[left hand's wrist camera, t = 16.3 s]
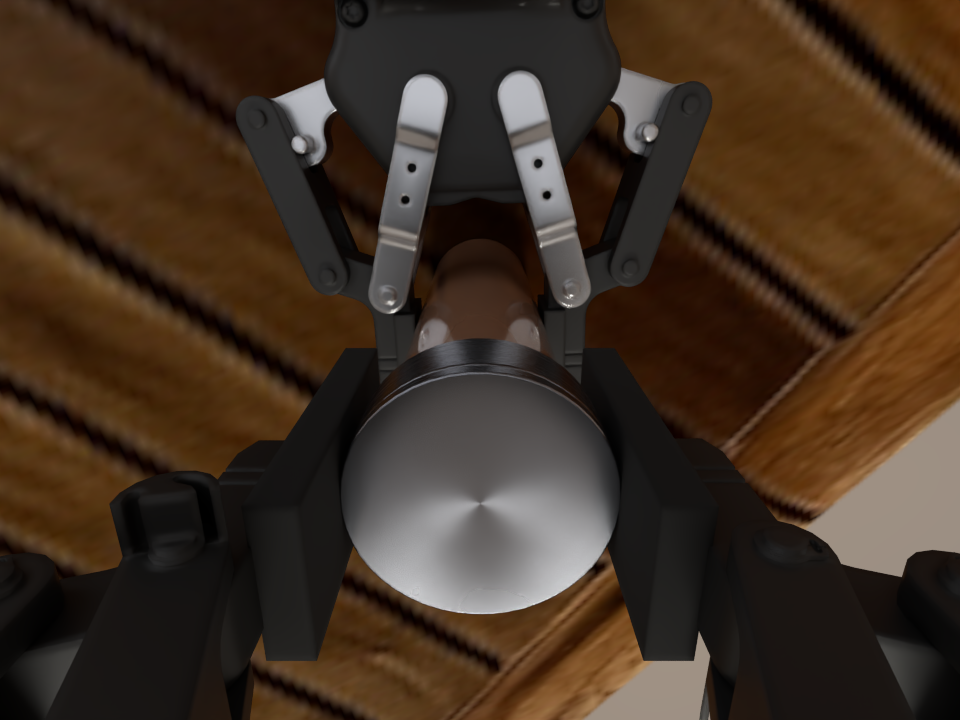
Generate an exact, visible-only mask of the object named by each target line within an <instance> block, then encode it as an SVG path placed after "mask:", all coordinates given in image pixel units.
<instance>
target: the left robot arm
mask: <svg viewBox="0 0 960 720" xmlns="http://www.w3.org/2000/svg"><path fill="white" fill-rule="evenodd" d="M379 386H380V381H379V365H378V349H377V348H346V349H345V350H344V352H343V353H342V355H341V356H340V358H339V359H338V361H337V362H336V364H335V365H334V367H333V368H332V370H331V372H330V373H329V375H328V376H327V378H326V379H325V381H324V382H323V384H322V385H321V387H320V388H319V390H318V391H317V393H316V394H315V396H314V397H313V399H312V400H311V402H310V403H309V405H308V406H307V408H306V409H305V411H304V412H303V414H302V415H301V417H300V418H299V420H298V421H297V423H296V424H295V426H294V427H293V429H292V430H291V432H290V433H289V435H288V436H287V438H286V439H285V441H257V442H256V443H254V444H253V445H251V446H249V447H248V448H246V449H245V450H243V451H241V452H240V453H238V454H237V456H236V457H235V458H234V459H233V461H232V462H231V463H230V464H229V466H228V467H227V468H226V472H223V473H222V475H221V476H220V477H219V478H218V480H217V479H216V478H215V477H213V476H212V475H211V474H208V473H204V472H199V471H176V472H171V473H166V474H161V475H156V476H154V477H151V478H148V479H145V480H143V481H140V482H137V483H135V484H134V485H132V486H130V487H129V488H127V489H125V490H124V491H122V492H120V493H119V494H118V495H117V496H116V497H115V499H114V500H113V501H112V502H111V503H110V508H111V512H112V516H113V520H114V524H115V528H116V532H117V536H118V540H119V543H120V547H121V551H122V555H123V558H122V560H121V562H120V564H119V566H118V567H116V568H113V569H109V570H105V571H100V572H95V573H90V574H85V575H80V576H75V577H70V578H66V579H61V580H59V577H58V574H57V570H56V567H55V564H54V562H53V561H52V560H51V559H50V558H48V557H47V556H46V555H42V554H35V553H21V554H13V555H5V556H1V557H0V720H250V713H251V705H252V697H253V689H254V680H253V672H252V666H251V661H250V658H251V656H252V654H253V651H254V649H255V647H256V645H257V642H258V640H259V638H260V636H261V633H262V636H263V643H264V649H265V655H266V661H317V658H318V655H319V652H320V649H321V646H322V643H323V639H324V636H325V633H326V630H327V627H328V624H329V620H330V617H331V614H332V611H333V608H334V605H335V602H336V598H337V595H338V592H339V589H340V586H341V583H342V579H343V576H344V573H345V570H346V567H347V564H348V561H349V557H350V554H351V551H352V548H353V544H352V542H351V540H350V538H349V536H348V533H347V531H346V528H345V526H344V522H343V518H342V514H341V505H340V493H339V486H340V476H341V471H342V466H343V462H344V460H345V457H346V454H347V451H348V449H349V446H350V444H351V442H352V440H353V437H354V435H355V432H356V430H357V428H358V426H359V423H360V421H361V419H362V416H363V414H364V412H365V409H366V407H367V405H368V403H369V401H370V400H371V398H372V396H373V394H374V392H375V391H376V390H377V388H378V387H379ZM581 386H582V387H583V388H584V390H585V391H586V393H587V395H588V396H589V398H590V400H591V402H592V403H593V405H594V408H595V410H596V412H597V414H598V417H599V419H600V421H601V424H602V426H603V428H604V430H605V433H606V435H607V438H608V440H609V442H610V444H611V446H612V449H613V452H614V454H615V457H616V459H617V462H618V467H619V471H620V476H621V498H620V509H619V517H618V522H617V526H616V528H615V531H614V533H613V535H612V538H611V540H610V542H609V544H608V546H607V547H608V550H609V553H610V556H611V559H612V563H613V566H614V569H615V572H616V575H617V578H618V582H619V585H620V588H621V591H622V594H623V597H624V600H625V604H626V607H627V610H628V613H629V616H630V619H631V623H632V626H633V629H634V632H635V635H636V638H637V641H638V645H639V648H640V651H641V654H642V657H643V660H644V661H694V657H695V651H696V645H697V639H698V633H699V632H700V634H701V636H702V639H703V641H704V643H705V645H706V647H707V650H708V652H709V654H710V661H709V666H708V672H707V678H706V683H705V689H704V695H703V700H702V706H701V712H700V719H699V720H708V717H709V711H710V719H711V720H960V554H959V553H955V552H945V551H937V550H929V551H922V552H916V553H915V554H913V555H912V556H911V557H910V558H908V559H907V562H906V565H905V569H904V572H903V575H902V577H898V576H893V575H888V574H883V573H878V572H873V571H868V570H864V569H859V568H854V567H850V566H846V565H843V564H841V563H840V561H839V559H838V557H837V555H836V554H835V553H834V551H833V550H832V549H831V548H830V546H829V545H828V544H827V543H826V542H824V541H823V540H821V539H820V538H819V537H817V536H816V535H814V534H813V533H811V532H809V531H807V530H804V529H802V528H800V527H797V526H795V525H793V524H788V523H784V522H780V521H777V520H776V518H775V517H774V516H773V515H772V513H771V512H770V511H769V510H768V508H767V507H766V506H765V504H764V503H763V502H762V501H761V499H760V498H759V497H758V496H757V494H756V493H755V492H754V491H753V489H752V488H751V487H750V486H749V484H748V483H745V479H744V478H743V477H742V475H741V474H740V473H739V472H738V470H735V467H734V465H733V464H732V463H731V462H730V460H729V459H728V458H727V457H726V455H725V454H724V453H723V452H722V451H721V450H719V449H718V448H716V447H714V446H713V445H711V444H709V443H708V442H706V441H705V440H703V439H674V437H673V436H672V434H671V433H670V431H669V430H668V428H667V427H666V425H665V424H664V422H663V421H662V419H661V418H660V416H659V415H658V413H657V412H656V410H655V409H654V407H653V406H652V404H651V403H650V401H649V400H648V398H647V397H646V395H645V394H644V392H643V391H642V389H641V388H640V386H639V385H638V383H637V382H636V380H635V379H634V377H633V376H632V374H631V372H630V371H629V369H628V368H627V366H626V365H625V363H624V362H623V360H622V359H621V357H620V356H619V354H618V353H617V351H616V350H615V348H583V355H582V370H581Z"/></svg>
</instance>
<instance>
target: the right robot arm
mask: <svg viewBox="0 0 960 720" xmlns="http://www.w3.org/2000/svg"><path fill="white" fill-rule="evenodd" d="M334 2H335V12H336V31H335V37H334V42H333V46H332V49H331V51H330V54H329V56H328V58H327V61H326V65H325V70H324V79H321V80H319V81H316V82H314V83H311V84H309V85H306V86H304V87H302V88H299V89H297V90H294V91H292V92H289V93H287V94H284V95H282V96H279V97H277V98H274V99H269V98H265V97H260V96H249V97H247V98H245V99H244V100H242V101H241V102H240V104H239V105H238V108H237V111H236V121H237V124H238V127H239V129H240V131H241V133H242V136H243V138H244V140H245V142H246V144H247V146H248V149H249V151H250V153H251V155H252V157H253V159H254V162H255V164H256V166H257V168H258V170H259V173H260V175H261V177H262V179H263V181H264V183H265V186H266V188H267V190H268V192H269V194H270V196H271V199H272V201H273V203H274V205H275V207H276V209H277V212H278V214H279V216H280V218H281V220H282V222H283V225H284V227H285V229H286V231H287V233H288V235H289V238H290V240H291V242H292V244H293V246H294V248H295V251H296V253H297V255H298V257H299V259H300V262H301V264H302V266H303V268H304V270H305V272H306V275H307V277H308V279H309V281H310V283H311V285H312V286H313V288H314V289H315V290H316V291H318V292H319V293H322V294H324V295H335V294H340V295H343V296H347V297H350V298H353V299H356V300H359V301H361V302H362V303H364V304H365V305H366V306H367V307H368V308H369V309H370V311H371V313H372V315H373V318H374V326H375V336H376V346H377V349H378V365H379V377H380V384H381V383H382V382H383V380H384V379H385V378H386V377H387V376H388V375H389V374H390V373H391V372H392V371H393V370H394V369H396V368H397V367H398V366H400V365H401V364H402V363H404V360H405V357H406V354H407V352H408V349H409V346H410V343H411V340H412V337H413V335H414V332H415V329H416V326H417V323H418V320H419V317H420V315H421V312H422V304H421V298H415V297H414V283H415V278H416V274H417V269H418V265H419V260H420V256H421V251H422V247H423V242H424V238H425V234H426V231H427V227H428V223H429V218H430V214H431V209H432V206H442V205H452V204H456V203H459V202H462V201H465V200H468V199H472V198H475V197H478V198H482V199H487V200H491V201H495V202H499V203H522V204H523V207H524V210H525V214H526V217H527V221H528V224H529V227H530V230H531V233H532V236H533V239H534V243H535V246H536V250H537V253H538V256H539V260H540V263H541V267H542V270H543V274H544V295H538V310H539V313H540V316H541V319H542V321H543V324H544V327H545V330H546V333H547V336H548V338H549V341H550V344H551V347H552V350H553V352H554V355H555V358H556V361H557V363H559V364H560V365H561V366H563V367H564V368H565V369H566V370H567V371H568V372H569V373H570V374H571V375H572V376H574V377H575V378H576V380H577V381H578V382H579V383H580V385H581V370H582V355H583V348H585V315H586V309H587V306H588V304H589V303H590V301H591V300H592V299H593V298H594V297H595V296H596V295H598V294H599V293H601V292H604V291H606V290H609V289H612V288H614V287H617V286H619V285H622V286H626V287H631V286H635V285H637V284H639V283H641V282H642V281H643V280H644V279H645V278H646V276H647V275H648V272H649V270H650V267H651V265H652V262H653V259H654V257H655V254H656V252H657V249H658V246H659V244H660V241H661V239H662V236H663V233H664V231H665V228H666V226H667V223H668V220H669V218H670V215H671V213H672V210H673V207H674V205H675V202H676V200H677V197H678V194H679V192H680V189H681V187H682V184H683V181H684V179H685V176H686V174H687V171H688V168H689V166H690V163H691V161H692V158H693V155H694V153H695V150H696V148H697V145H698V142H699V140H700V137H701V135H702V132H703V129H704V127H705V124H706V122H707V119H708V116H709V114H710V111H711V108H712V96H711V93H710V91H709V89H708V88H707V87H706V86H705V85H704V84H702V83H700V82H696V81H690V82H686V83H680V84H671V83H668V82H665V81H662V80H658V79H655V78H652V77H649V76H646V75H643V74H640V73H637V72H633V71H630V70H627V69H624V68H621V60H620V56H619V53H618V50H617V48H616V46H615V44H614V42H613V40H612V38H611V35H610V32H609V29H608V25H607V20H606V13H605V0H334ZM607 105H610V106H611V107H612V108H613V109H614V110H615V111H616V113H617V116H618V120H619V126H618V131H617V139H618V143H619V145H620V146H621V148H622V149H623V150H624V151H626V152H628V153H630V156H629V159H628V161H627V164H626V167H625V170H624V173H623V176H622V179H621V181H620V184H619V187H618V190H617V193H616V196H615V199H614V202H613V204H612V207H611V210H610V213H609V216H608V219H607V222H606V224H605V227H604V230H603V233H602V236H601V239H600V242H599V244H597V245H594V246H591V247H589V248H586V249H584V250H581V246H580V242H579V238H578V234H577V225H576V220H575V216H574V212H573V208H572V204H571V200H570V197H569V193H568V189H567V185H566V181H565V178H564V174H563V169H564V168H565V166H566V165H567V163H568V162H569V160H570V159H571V158H572V156H573V155H574V153H575V152H576V150H577V149H578V147H579V146H580V145H581V143H582V142H583V140H584V139H585V137H586V136H587V134H588V133H589V131H590V130H591V129H592V127H593V126H594V124H595V123H596V121H597V120H598V118H599V117H600V116H601V114H602V113H603V111H604V110H605V108H606V107H607ZM339 114H340V115H341V117H342V118H343V119H344V120H345V122H346V123H347V124H348V125H349V127H350V128H351V129H352V130H353V132H354V133H355V134H356V135H357V137H358V138H359V139H360V140H361V142H362V143H363V144H364V146H365V147H366V148H367V149H368V151H369V152H370V153H371V154H372V156H373V157H374V158H375V159H376V161H377V162H378V163H379V164H380V166H381V167H382V168H383V169H384V171H385V172H386V173H387V175H388V181H387V186H386V191H385V196H384V201H383V207H382V212H381V217H380V222H379V229H378V236H379V238H378V245H377V250H376V255H375V257H374V256H371V255H368V254H364V253H361V252H359V251H358V248H357V246H356V244H355V241H354V239H353V236H352V234H351V232H350V229H349V227H348V225H347V222H346V220H345V218H344V215H343V213H342V211H341V208H340V206H339V203H338V201H337V199H336V196H335V194H334V192H333V189H332V187H331V185H330V182H329V180H328V177H327V175H326V173H325V170H324V168H323V166H322V164H323V163H325V162H326V161H327V160H328V159H329V158H330V157H331V155H332V152H333V141H332V137H331V126H332V123H333V121H334V119H335V118H336V117H337V116H338V115H339Z"/></svg>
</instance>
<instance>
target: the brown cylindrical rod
mask: <svg viewBox="0 0 960 720" xmlns="http://www.w3.org/2000/svg"><path fill="white" fill-rule="evenodd" d="M473 338H489V339H497V340H505V341H510V342H514V343H518V344H522V345H524V346H527V347H529V348H532V349H535V350H537V351H539V352H541V353H543V354H544V355H546V356H548V357H550V358H552V359H553V360H554V361H556V358H555V355H554V352H553V350H552V347H551V344H550V341H549V338H548V336H547V333H546V330H545V327H544V324H543V321H542V319H541V316H540V313H539V310H538V307H537V305H536V302H535V299H534V296H533V293H532V291H531V288H530V285H529V282H528V279H527V277H526V274H525V271H524V268H523V266H522V264H521V262H520V260H519V259H518V257H517V256H516V255H515V254H514V253H513V252H512V251H511V250H510V249H509V248H507V247H506V246H504V245H502V244H501V243H498V242H496V241H492V240H488V239H473V240H468V241H465V242H462V243H460V244H458V245H456V246H454V247H453V248H452V249H450V250H449V251H448V252H447V253H446V254H445V255H444V256H443V258H442V259H441V261H440V262H439V264H438V266H437V269H436V272H435V275H434V278H433V280H432V283H431V286H430V289H429V292H428V295H427V298H426V300H425V303H424V306H423V309H422V312H421V315H420V317H419V320H418V323H417V326H416V329H415V332H414V335H413V337H412V340H411V343H410V346H409V349H408V352H407V354H406V357H405V360H404V362H405V361H406V360H408V359H409V358H411V357H413V356H415V355H416V354H418V353H420V352H422V351H424V350H427V349H429V348H431V347H434V346H436V345H440V344H443V343H447V342H451V341H456V340H463V339H473ZM556 362H557V361H556Z"/></svg>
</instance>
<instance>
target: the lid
mask: <svg viewBox="0 0 960 720" xmlns="http://www.w3.org/2000/svg"><path fill="white" fill-rule="evenodd" d="M339 493H340V505H341V514H342V518H343V522H344V526H345V528H346V531H347V533H348V536H349V538H350V540H351V542H352V544H353V546H354V547H355V549H356V551H357V552H358V554H359V556H360V557H361V558H362V559H363V561H364V562H365V563H366V564H367V566H368V567H369V568H370V569H371V570H372V571H373V572H374V573H375V574H376V575H377V576H378V577H379V578H380V579H381V580H383V581H384V582H385V583H387V584H388V585H389V586H391V587H392V588H393V589H395V590H397V591H398V592H400V593H402V594H403V595H405V596H407V597H409V598H411V599H413V600H416V601H418V602H420V603H422V604H425V605H428V606H431V607H434V608H438V609H441V610H446V611H451V612H456V613H466V614H495V613H504V612H510V611H515V610H519V609H524V608H527V607H530V606H533V605H536V604H539V603H541V602H543V601H545V600H548V599H550V598H552V597H554V596H556V595H558V594H559V593H561V592H562V591H564V590H566V589H567V588H569V587H570V586H572V585H573V584H574V583H575V582H577V581H578V580H579V579H581V578H582V577H583V576H584V575H585V574H586V573H587V572H588V571H589V570H590V569H591V568H592V567H593V566H594V564H595V563H596V562H597V561H598V559H599V558H600V557H601V555H602V554H603V552H604V551H605V549H606V547H607V546H608V544H609V542H610V540H611V538H612V535H613V533H614V531H615V528H616V526H617V522H618V517H619V509H620V498H621V476H620V471H619V467H618V462H617V459H616V457H615V454H614V452H613V449H612V446H611V444H610V442H609V440H608V438H607V435H606V433H605V430H604V428H603V426H602V424H601V421H600V419H599V417H598V414H597V412H596V410H595V408H594V405H593V403H592V402H591V400H590V398H589V396H588V395H587V393H586V391H585V390H584V388H583V387H582V386H581V385H580V383H579V382H578V381H577V380H576V378H575V377H574V376H572V375H571V374H570V373H569V372H568V371H567V370H566V369H565V368H564V367H563V366H561V365H560V364H559V363H557V362H556V361H554V360H553V359H552V358H550V357H548V356H546V355H544V354H543V353H541V352H539V351H537V350H535V349H532V348H529V347H527V346H524V345H522V344H518V343H514V342H510V341H505V340H497V339H489V338H473V339H463V340H456V341H451V342H447V343H443V344H440V345H436V346H434V347H431V348H429V349H427V350H424V351H422V352H420V353H418V354H416V355H415V356H413V357H411V358H409V359H408V360H406V361H405V362H404V363H402V364H401V365H400V366H398V367H397V368H396V369H394V370H393V371H392V372H391V373H390V374H389V375H388V376H387V377H386V378H385V379H384V380H383V382H382V383H381V384H380V386H379V387H378V388H377V390H376V391H375V392H374V394H373V396H372V398H371V400H370V401H369V403H368V405H367V407H366V409H365V412H364V414H363V416H362V419H361V421H360V423H359V426H358V428H357V430H356V432H355V435H354V437H353V440H352V442H351V444H350V446H349V449H348V451H347V454H346V457H345V460H344V462H343V466H342V471H341V476H340V486H339Z"/></svg>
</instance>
